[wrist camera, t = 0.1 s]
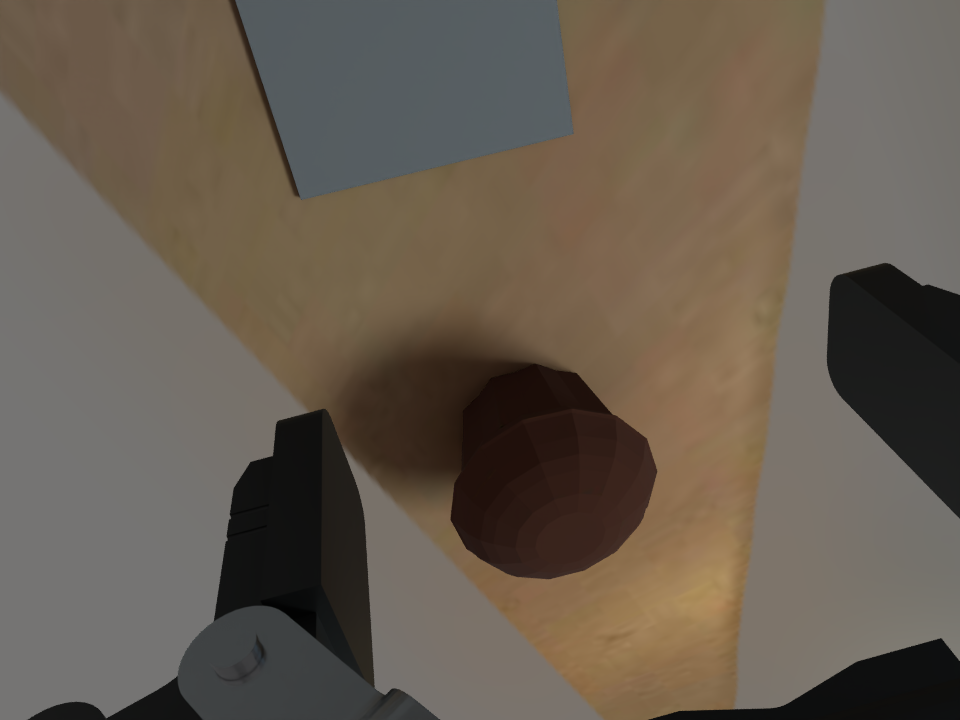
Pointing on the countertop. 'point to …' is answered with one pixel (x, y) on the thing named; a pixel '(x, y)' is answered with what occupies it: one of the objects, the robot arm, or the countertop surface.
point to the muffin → (548, 475)
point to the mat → (405, 83)
